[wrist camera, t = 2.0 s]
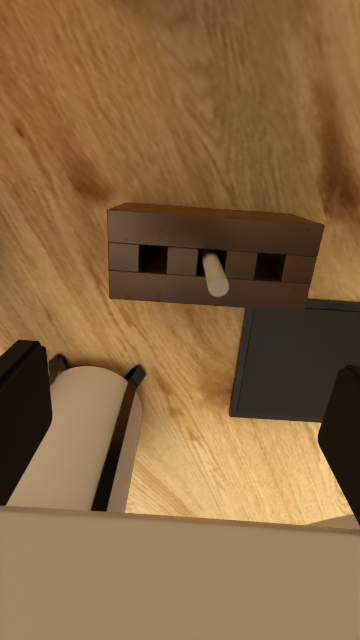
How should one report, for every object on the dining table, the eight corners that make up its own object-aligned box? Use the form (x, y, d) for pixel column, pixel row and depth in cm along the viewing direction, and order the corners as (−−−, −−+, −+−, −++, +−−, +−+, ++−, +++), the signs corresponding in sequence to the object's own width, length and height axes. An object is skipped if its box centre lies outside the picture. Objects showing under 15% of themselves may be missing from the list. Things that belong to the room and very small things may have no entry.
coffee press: (103, 314, 36) (-176, 766, 8) (179, 412, 41) (165, 886, 13) (-8, 382, 40) (-449, 840, 12) (74, 463, 45) (-101, 911, 17)
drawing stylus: (199, 237, 32) (209, 276, 19) (212, 238, 32) (230, 277, 19) (198, 250, 33) (206, 296, 20) (211, 251, 33) (227, 297, 20)
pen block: (125, 202, 31) (106, 209, 24) (292, 214, 31) (325, 224, 24) (125, 272, 34) (109, 298, 26) (278, 283, 34) (304, 311, 27)
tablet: (228, 412, 41) (229, 418, 40) (247, 294, 34) (249, 297, 33) (398, 423, 41) (403, 429, 40) (449, 308, 35) (456, 311, 34)
